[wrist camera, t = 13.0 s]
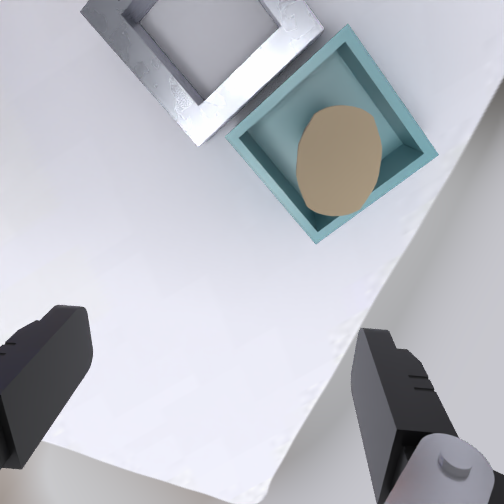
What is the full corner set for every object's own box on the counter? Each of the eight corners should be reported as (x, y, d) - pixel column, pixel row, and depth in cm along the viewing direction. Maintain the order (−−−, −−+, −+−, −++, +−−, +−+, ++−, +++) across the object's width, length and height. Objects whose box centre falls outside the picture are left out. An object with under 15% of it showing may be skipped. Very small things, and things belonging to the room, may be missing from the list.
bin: (235, 128, 38) (224, 136, 31) (336, 36, 34) (347, 23, 28) (311, 220, 41) (315, 244, 34) (412, 143, 37) (438, 154, 30)
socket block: (101, 19, 35) (80, 11, 32) (213, -116, 31) (202, -143, 27) (206, 141, 39) (198, 146, 35) (320, 34, 34) (324, 28, 30)
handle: (350, 100, 35) (389, 107, 21) (342, 171, 38) (371, 218, 24) (297, 98, 36) (301, 103, 22) (292, 169, 38) (293, 213, 24)
